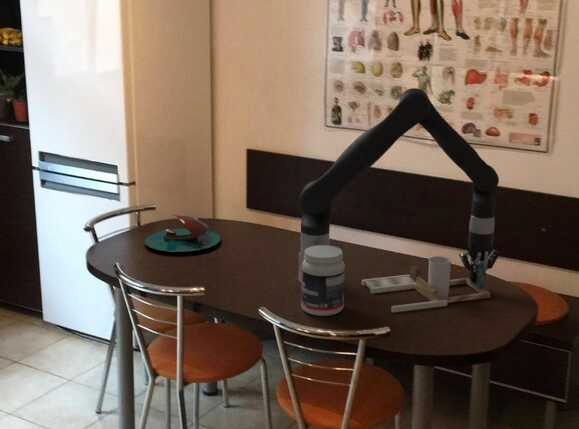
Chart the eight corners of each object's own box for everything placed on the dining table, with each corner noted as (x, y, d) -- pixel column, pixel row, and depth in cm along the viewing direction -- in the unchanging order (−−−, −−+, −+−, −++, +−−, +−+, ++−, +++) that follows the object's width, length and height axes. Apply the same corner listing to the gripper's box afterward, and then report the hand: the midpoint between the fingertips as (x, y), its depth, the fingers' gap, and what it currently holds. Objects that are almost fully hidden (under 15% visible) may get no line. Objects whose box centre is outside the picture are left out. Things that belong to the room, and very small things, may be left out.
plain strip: (371, 290, 254) (372, 275, 253) (365, 284, 259) (365, 269, 258) (420, 285, 259) (421, 269, 258) (413, 279, 264) (413, 264, 263)
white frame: (434, 304, 244) (435, 278, 242) (414, 288, 257) (415, 263, 254) (491, 297, 249) (493, 271, 247) (468, 281, 262) (470, 257, 260)
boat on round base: (216, 256, 287) (215, 226, 284) (138, 255, 287) (136, 225, 284) (223, 232, 314) (223, 205, 311) (152, 232, 314) (150, 204, 311)
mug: (441, 302, 246) (444, 265, 243) (422, 296, 251) (424, 260, 247) (458, 292, 254) (460, 256, 250) (439, 287, 258) (441, 252, 255)
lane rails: (392, 312, 239) (392, 307, 238) (361, 284, 261) (362, 279, 260) (447, 305, 244) (447, 300, 243) (412, 278, 266) (412, 274, 265)
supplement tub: (292, 307, 242) (292, 249, 237) (325, 297, 250) (326, 241, 244) (319, 321, 232) (320, 261, 227) (353, 310, 240) (354, 252, 235)
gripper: (467, 234, 245) (463, 288, 249) (507, 231, 249) (502, 283, 253) (455, 227, 251) (451, 279, 256) (494, 224, 255) (490, 275, 260)
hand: (477, 281), depth 255 cm, fingers closed on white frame, 2 cm apart
